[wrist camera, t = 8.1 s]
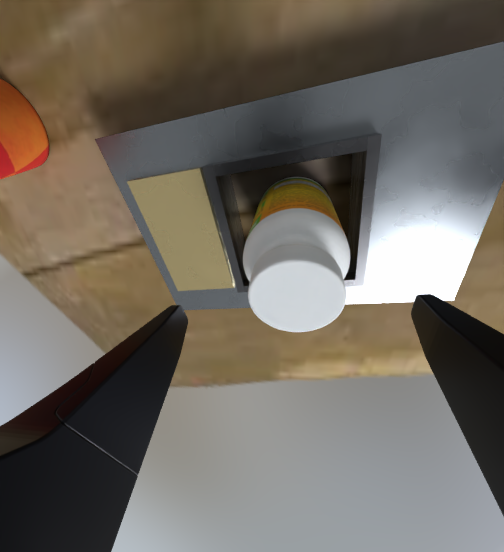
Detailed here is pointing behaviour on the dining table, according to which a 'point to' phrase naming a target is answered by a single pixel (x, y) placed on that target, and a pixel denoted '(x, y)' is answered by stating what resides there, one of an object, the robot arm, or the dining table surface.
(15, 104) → the paper cup
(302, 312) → the supplement bottle
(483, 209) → the grey base block
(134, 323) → the dining table surface
